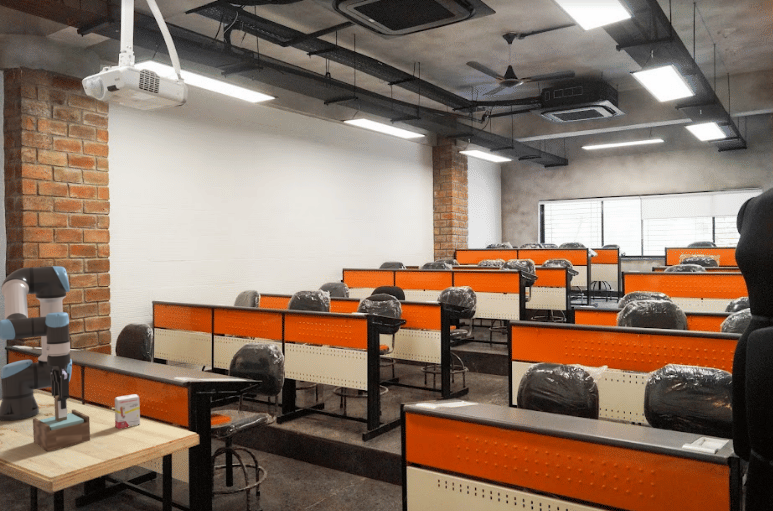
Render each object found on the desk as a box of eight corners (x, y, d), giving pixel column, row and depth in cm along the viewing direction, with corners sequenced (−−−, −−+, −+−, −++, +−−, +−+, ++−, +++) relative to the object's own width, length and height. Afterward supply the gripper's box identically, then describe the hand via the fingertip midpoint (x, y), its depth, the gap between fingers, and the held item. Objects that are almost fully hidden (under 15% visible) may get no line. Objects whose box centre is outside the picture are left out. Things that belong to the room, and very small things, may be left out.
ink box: (117, 429, 226) (116, 400, 226) (115, 426, 230) (114, 397, 230) (140, 424, 232) (139, 396, 231) (137, 422, 236) (136, 393, 235)
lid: (38, 423, 214) (37, 396, 214) (70, 415, 222) (69, 390, 222) (51, 430, 205) (49, 402, 205) (83, 422, 214) (82, 395, 214)
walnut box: (33, 442, 214) (32, 418, 214) (74, 432, 224) (74, 409, 224) (47, 451, 204) (46, 426, 204) (90, 440, 215) (89, 416, 214)
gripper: (40, 353, 216) (42, 414, 216) (55, 358, 205) (57, 423, 206) (61, 350, 221) (64, 410, 222) (77, 354, 211) (80, 417, 211)
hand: (61, 416), depth 214 cm, fingers closed on lid, 3 cm apart
